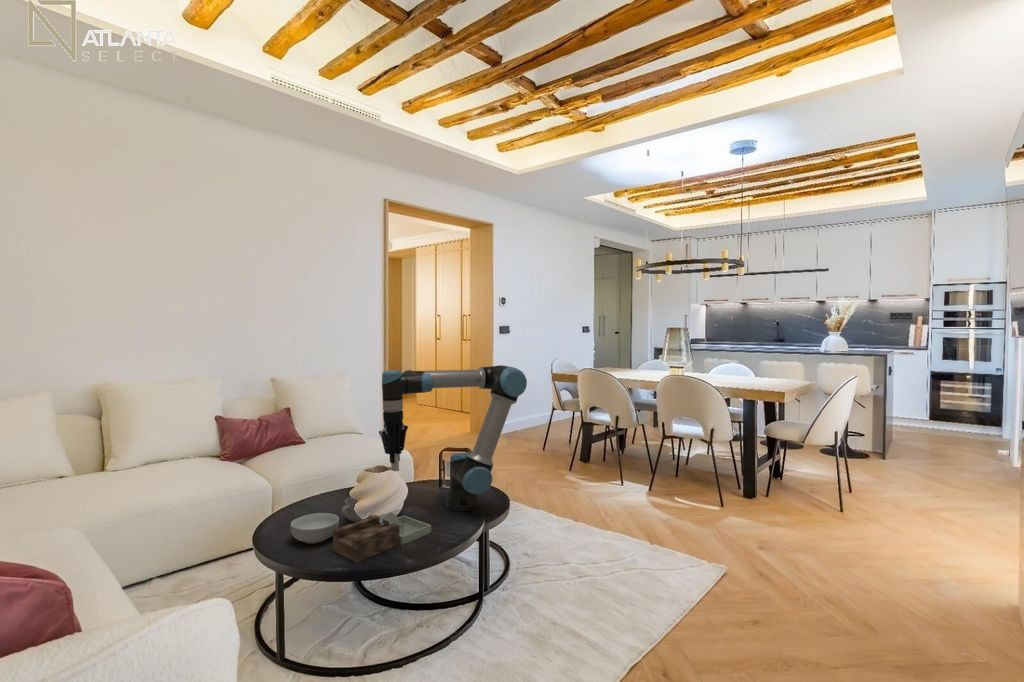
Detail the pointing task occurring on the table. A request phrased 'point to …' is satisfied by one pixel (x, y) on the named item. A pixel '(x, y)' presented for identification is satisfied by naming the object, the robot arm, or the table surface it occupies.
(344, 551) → the slot block
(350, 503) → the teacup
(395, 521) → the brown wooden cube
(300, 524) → the cereal bowl
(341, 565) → the table surface
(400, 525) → the grey cube
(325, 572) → the table surface
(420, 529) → the tray
